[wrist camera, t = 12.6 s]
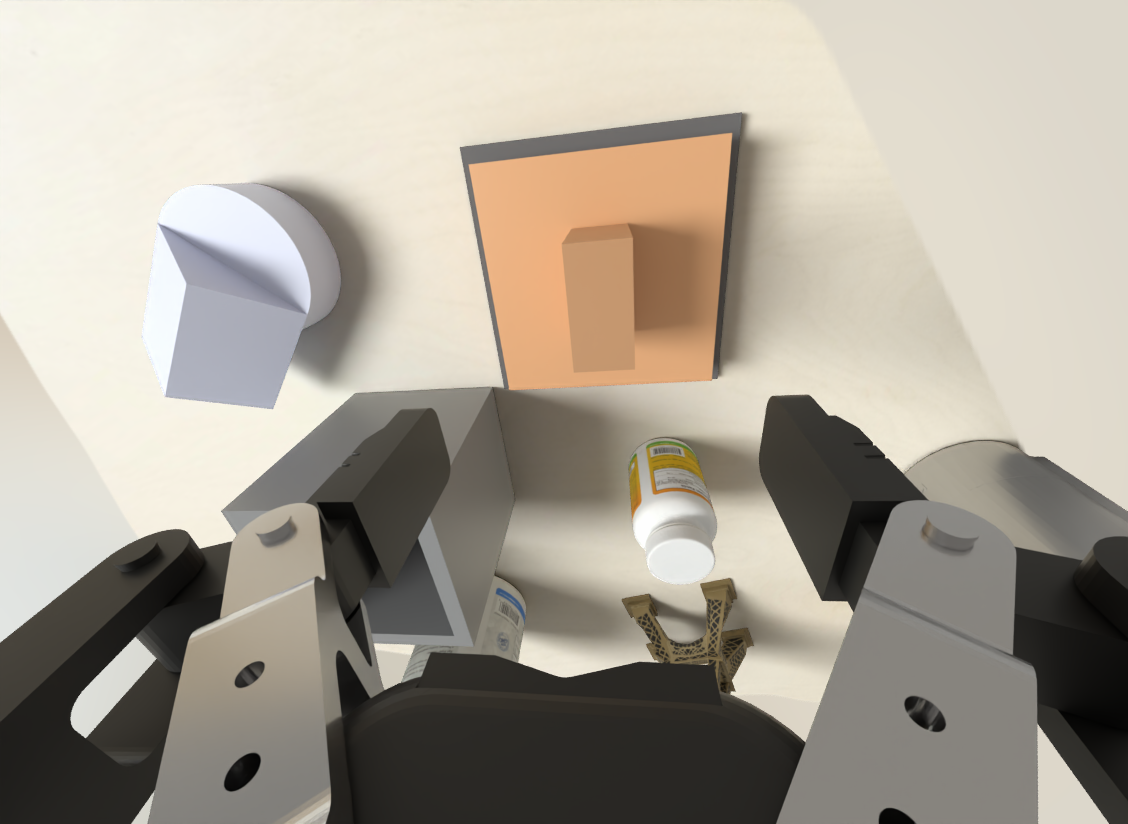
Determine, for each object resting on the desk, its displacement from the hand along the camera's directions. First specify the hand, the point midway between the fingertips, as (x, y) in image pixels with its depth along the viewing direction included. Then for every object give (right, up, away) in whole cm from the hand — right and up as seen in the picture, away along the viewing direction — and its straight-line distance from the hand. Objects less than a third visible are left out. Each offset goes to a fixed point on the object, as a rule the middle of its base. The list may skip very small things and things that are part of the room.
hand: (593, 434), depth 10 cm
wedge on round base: (-21, +9, +19) cm, 30 cm away
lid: (+2, +9, +16) cm, 18 cm away
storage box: (-11, -3, +24) cm, 27 cm away
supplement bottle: (+7, -4, +23) cm, 24 cm away
